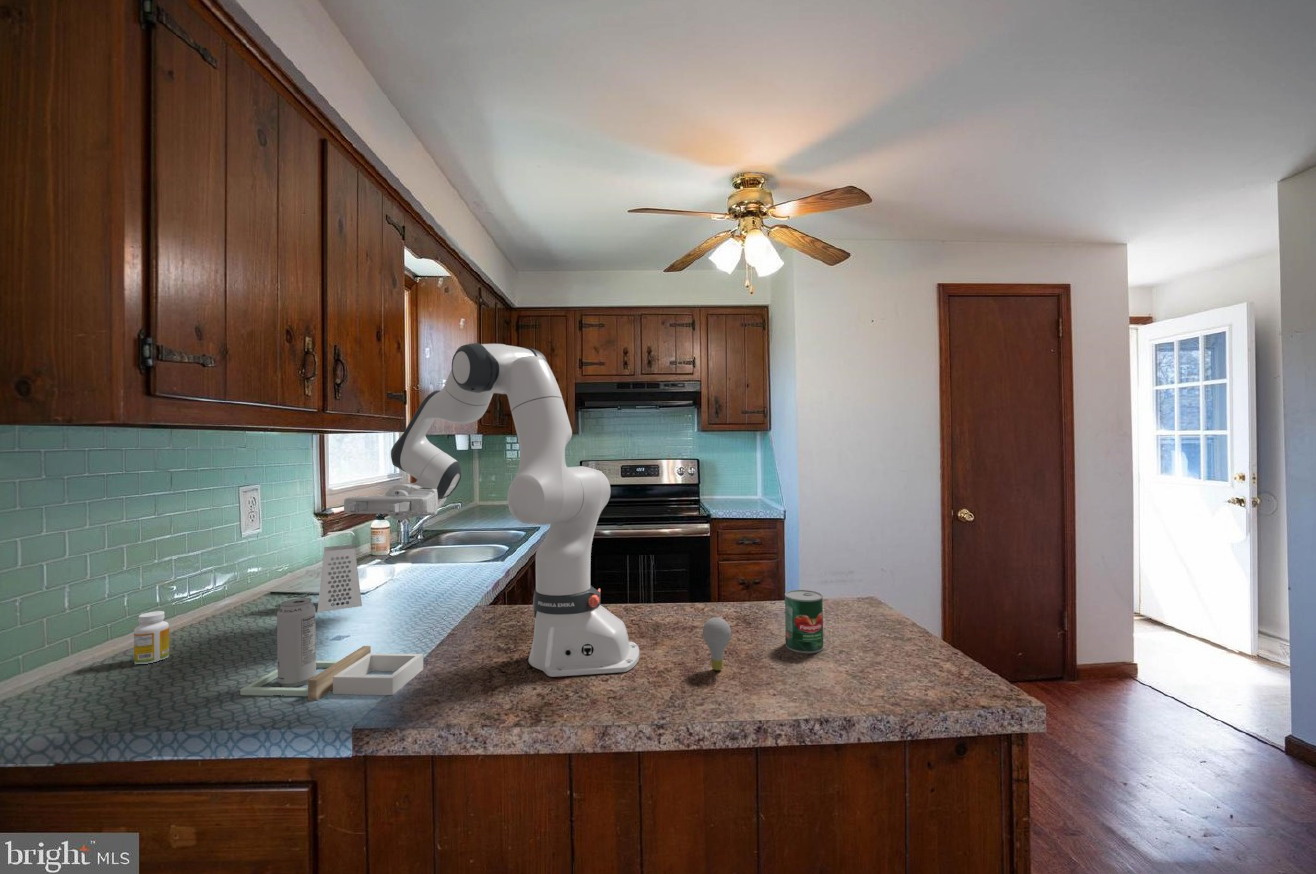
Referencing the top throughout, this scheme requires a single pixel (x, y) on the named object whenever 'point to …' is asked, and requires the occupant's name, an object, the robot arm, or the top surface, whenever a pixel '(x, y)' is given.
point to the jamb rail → (333, 674)
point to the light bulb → (716, 639)
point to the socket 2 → (360, 683)
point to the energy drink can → (296, 642)
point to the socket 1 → (270, 691)
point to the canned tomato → (804, 621)
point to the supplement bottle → (151, 638)
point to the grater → (339, 577)
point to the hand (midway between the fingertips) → (371, 508)
